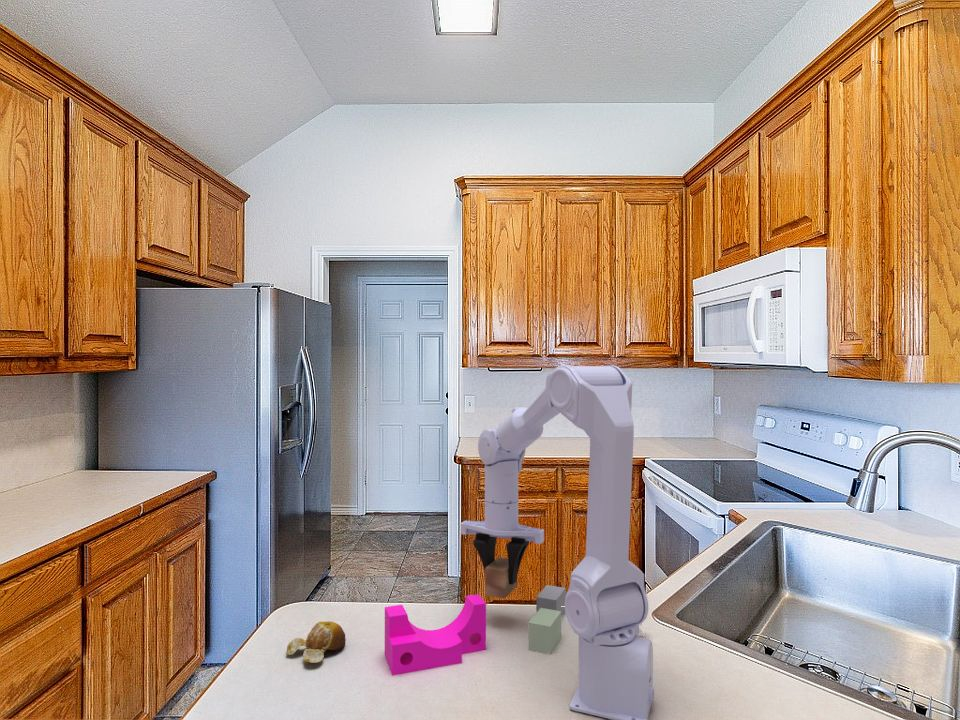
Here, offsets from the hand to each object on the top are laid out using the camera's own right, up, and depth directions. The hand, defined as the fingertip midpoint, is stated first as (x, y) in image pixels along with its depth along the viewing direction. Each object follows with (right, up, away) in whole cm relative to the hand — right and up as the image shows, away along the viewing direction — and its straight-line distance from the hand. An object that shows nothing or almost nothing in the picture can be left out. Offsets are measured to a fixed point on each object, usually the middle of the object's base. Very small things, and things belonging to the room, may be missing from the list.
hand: (501, 580), depth 100 cm
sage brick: (+7, -8, -7) cm, 12 cm away
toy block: (-10, -8, -11) cm, 17 cm away
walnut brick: (0, -2, 0) cm, 2 cm away
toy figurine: (+20, -8, -5) cm, 22 cm away
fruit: (-30, -9, -13) cm, 34 cm away
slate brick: (+9, -8, +3) cm, 12 cm away
